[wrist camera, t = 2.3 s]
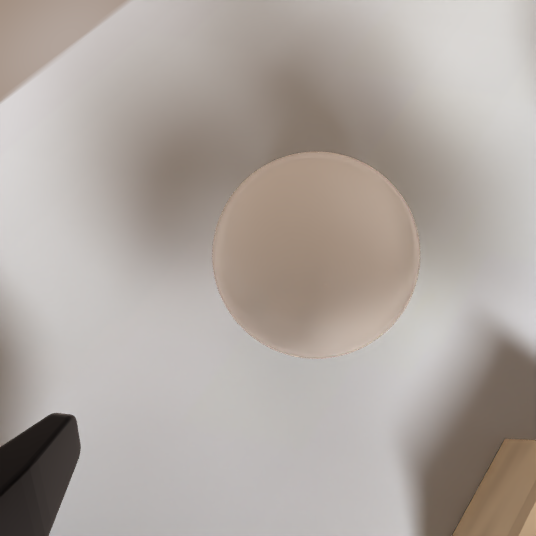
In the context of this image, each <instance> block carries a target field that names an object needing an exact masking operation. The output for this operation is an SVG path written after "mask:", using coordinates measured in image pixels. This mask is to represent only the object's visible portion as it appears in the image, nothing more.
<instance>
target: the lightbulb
mask: <svg viewBox="0 0 536 536" xmlns="http://www.w3.org/2000/svg"><path fill="white" fill-rule="evenodd" d="M212 263H213V272H214V277H215V281H216V285H217V288H218V291H219V294H220V296H221V298H222V300H223V302H224V304H225V306H226V308H227V309H228V311H229V313H230V314H231V315H232V317H233V318H234V319H235V321H236V322H237V323H238V324H239V325H240V326H241V327H242V328H243V329H244V330H245V331H246V332H247V333H248V334H249V335H250V336H252V337H253V338H254V339H256V340H257V341H259V342H260V343H262V344H263V345H265V346H267V347H269V348H271V349H273V350H275V351H278V352H280V353H283V354H287V355H290V356H295V357H300V358H309V359H323V358H332V357H337V356H342V355H345V354H349V353H352V352H354V351H357V350H359V349H361V348H363V347H365V346H367V345H369V344H370V343H372V342H373V341H375V340H376V339H378V338H379V337H381V336H382V335H383V334H384V333H385V332H386V331H388V330H389V329H390V328H391V327H392V326H393V325H394V323H395V322H396V321H397V320H398V318H399V317H400V316H401V314H402V313H403V311H404V310H405V308H406V307H407V305H408V303H409V301H410V299H411V297H412V294H413V292H414V289H415V286H416V282H417V279H418V274H419V268H420V242H419V235H418V231H417V227H416V223H415V220H414V218H413V215H412V213H411V211H410V208H409V207H408V205H407V203H406V201H405V200H404V198H403V197H402V195H401V194H400V192H399V191H398V190H397V189H396V188H395V186H394V185H393V184H392V183H391V182H390V181H389V180H388V179H387V178H386V177H384V176H383V175H382V174H381V173H380V172H378V171H377V170H375V169H374V168H372V167H371V166H369V165H367V164H365V163H363V162H361V161H359V160H357V159H354V158H352V157H349V156H345V155H342V154H337V153H331V152H320V151H313V152H302V153H296V154H291V155H288V156H284V157H281V158H279V159H276V160H274V161H272V162H270V163H268V164H266V165H264V166H262V167H261V168H259V169H258V170H256V171H255V172H254V173H252V174H251V175H250V176H249V177H247V178H246V179H245V180H244V181H243V182H242V183H241V184H240V185H239V186H238V188H237V189H236V190H235V191H234V192H233V194H232V195H231V197H230V198H229V200H228V201H227V203H226V205H225V207H224V209H223V211H222V213H221V215H220V218H219V220H218V223H217V226H216V230H215V234H214V239H213V249H212Z"/></svg>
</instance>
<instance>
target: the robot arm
mask: <svg viewBox="0 0 536 536" xmlns="http://www.w3.org/2000/svg"><path fill="white" fill-rule="evenodd" d="M80 448H81V446H80V439H79V433H78V426H77V421H76V418H75V417H74V416H73V415H70V414H61V413H53V414H50V415H48V416H47V417H45V418H44V419H42V420H41V421H39V422H38V423H36V424H35V425H33V426H32V427H30V428H29V429H27V430H26V431H24V432H23V433H21V434H20V435H18V436H16V437H15V438H13V439H12V440H10V441H9V442H7V443H6V444H4V445H3V446H1V447H0V536H48V535H49V533H50V530H51V528H52V526H53V523H54V520H55V518H56V515H57V513H58V510H59V508H60V505H61V503H62V500H63V497H64V495H65V492H66V490H67V487H68V485H69V482H70V479H71V477H72V474H73V472H74V469H75V467H76V464H77V461H78V459H79V455H80Z"/></svg>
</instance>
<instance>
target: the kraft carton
mask: <svg viewBox="0 0 536 536" xmlns="http://www.w3.org/2000/svg"><path fill="white" fill-rule="evenodd" d="M452 536H536V440H525V439H505V440H504V441H503V443H502V445H501V447H500V449H499V450H498V452H497V454H496V456H495V458H494V460H493V461H492V463H491V465H490V467H489V469H488V471H487V472H486V474H485V476H484V478H483V480H482V482H481V483H480V485H479V487H478V489H477V491H476V493H475V494H474V496H473V498H472V500H471V502H470V504H469V505H468V507H467V509H466V511H465V513H464V515H463V516H462V518H461V520H460V522H459V524H458V526H457V527H456V529H455V531H454V533H453V535H452Z"/></svg>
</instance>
